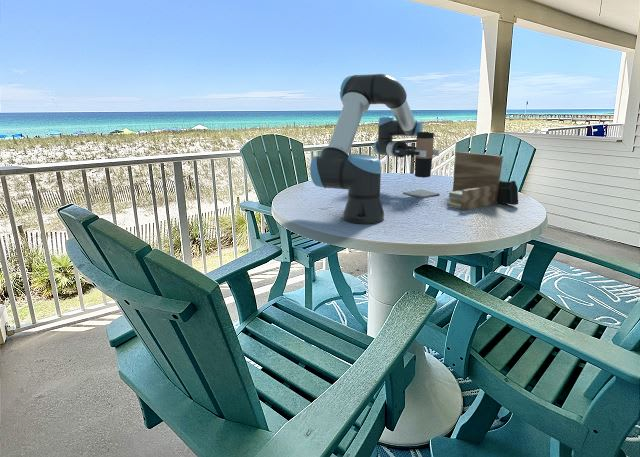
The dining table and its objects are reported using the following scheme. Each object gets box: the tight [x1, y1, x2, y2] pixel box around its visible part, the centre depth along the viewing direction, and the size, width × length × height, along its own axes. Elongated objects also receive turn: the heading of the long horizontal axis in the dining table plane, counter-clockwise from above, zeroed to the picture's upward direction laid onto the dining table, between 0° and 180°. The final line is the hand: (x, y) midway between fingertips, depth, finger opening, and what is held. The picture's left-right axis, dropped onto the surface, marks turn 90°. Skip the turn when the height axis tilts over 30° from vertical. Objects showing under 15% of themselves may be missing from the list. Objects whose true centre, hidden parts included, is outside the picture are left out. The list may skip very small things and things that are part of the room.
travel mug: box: [414, 131, 435, 178], centre depth 171 cm, size 8×8×20 cm
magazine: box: [497, 180, 519, 206], centre depth 162 cm, size 17×3×30 cm
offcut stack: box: [447, 188, 472, 210], centre depth 156 cm, size 16×8×6 cm, turn 129°
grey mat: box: [402, 189, 441, 199], centre depth 176 cm, size 12×12×1 cm
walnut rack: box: [452, 151, 504, 211], centre depth 158 cm, size 21×22×20 cm
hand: (432, 153), depth 166 cm, fingers closed on travel mug, 7 cm apart
